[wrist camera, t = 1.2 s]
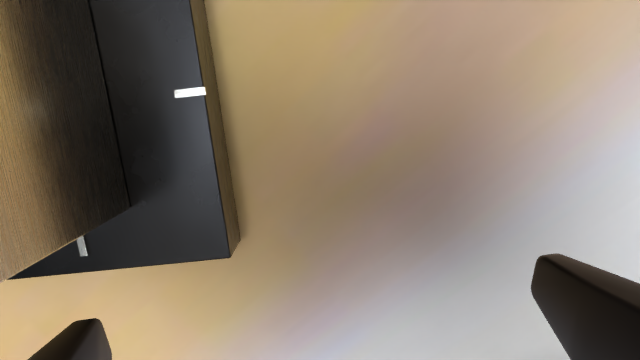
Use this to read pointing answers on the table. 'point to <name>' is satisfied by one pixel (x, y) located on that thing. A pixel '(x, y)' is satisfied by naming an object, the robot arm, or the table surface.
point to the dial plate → (158, 143)
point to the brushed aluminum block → (53, 132)
